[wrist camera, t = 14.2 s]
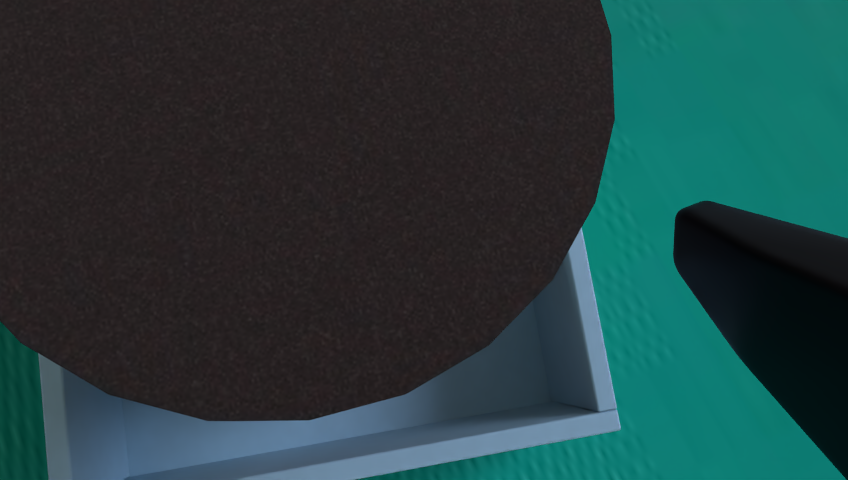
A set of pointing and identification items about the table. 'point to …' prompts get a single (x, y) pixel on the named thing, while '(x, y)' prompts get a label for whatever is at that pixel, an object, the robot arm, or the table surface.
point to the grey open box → (363, 410)
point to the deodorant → (289, 189)
